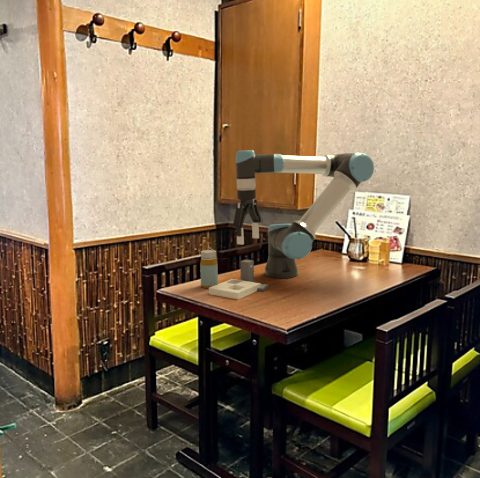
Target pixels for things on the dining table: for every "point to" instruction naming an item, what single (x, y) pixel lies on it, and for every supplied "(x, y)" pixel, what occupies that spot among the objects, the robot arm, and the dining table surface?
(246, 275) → the block
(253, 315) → the dining table surface
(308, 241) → the robot arm
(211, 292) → the plate
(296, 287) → the dining table surface
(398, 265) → the dining table surface
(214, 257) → the bottle
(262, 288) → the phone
